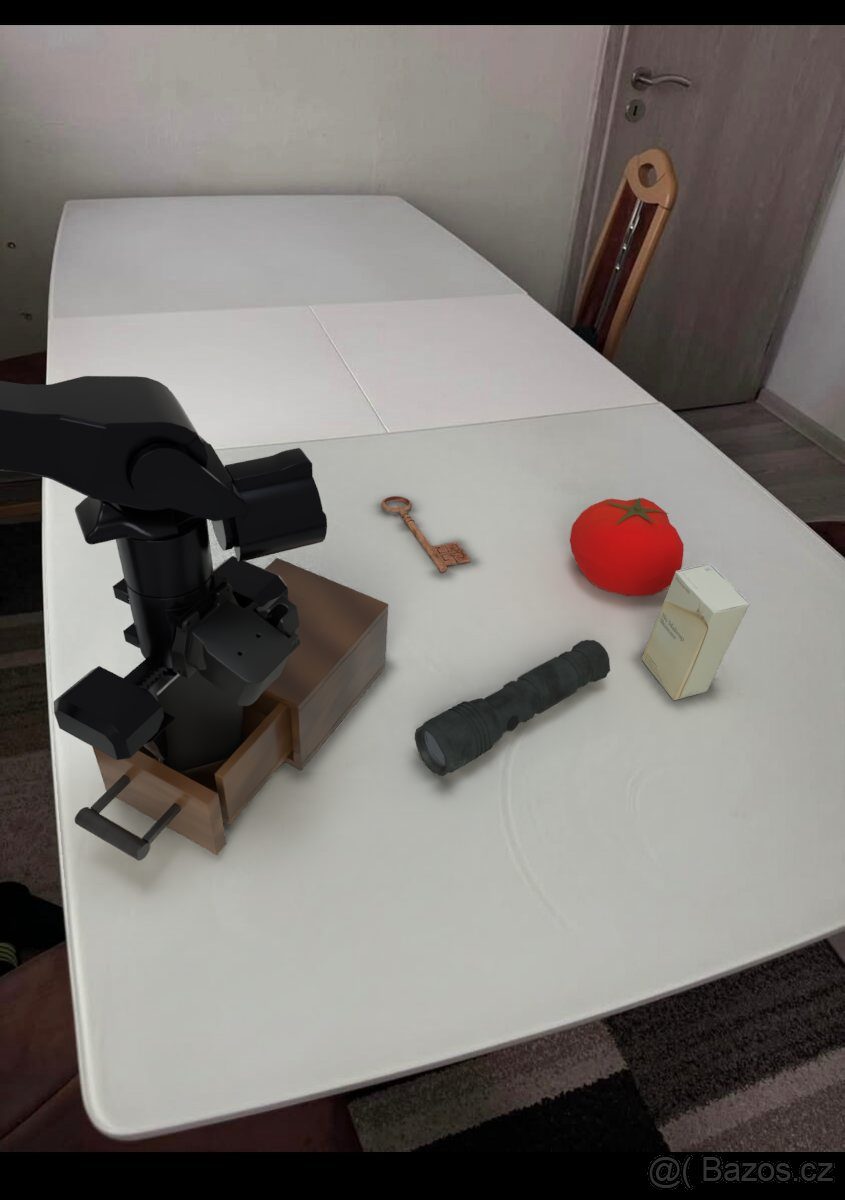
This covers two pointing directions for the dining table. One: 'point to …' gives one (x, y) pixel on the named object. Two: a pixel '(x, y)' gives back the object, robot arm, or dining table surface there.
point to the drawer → (192, 785)
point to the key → (430, 549)
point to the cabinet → (327, 656)
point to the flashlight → (507, 708)
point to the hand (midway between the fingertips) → (195, 722)
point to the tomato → (627, 546)
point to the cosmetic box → (694, 630)
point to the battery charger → (199, 723)
